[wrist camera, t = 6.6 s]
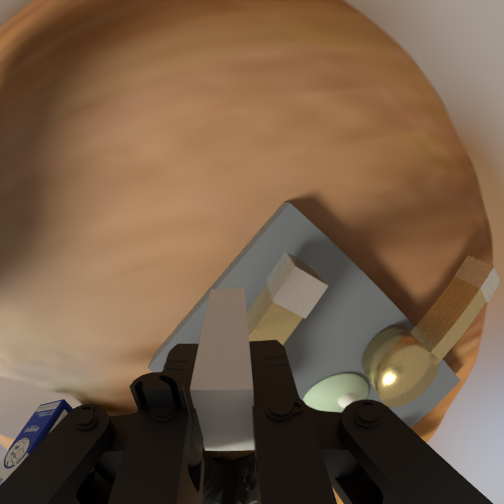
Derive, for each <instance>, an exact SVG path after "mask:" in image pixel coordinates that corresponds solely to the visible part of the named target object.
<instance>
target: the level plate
mask: <svg viewBox="0 0 504 504" xmlns="http://www.w3.org/2000/svg"><path fill="white" fill-rule="evenodd" d="M285 251H286V252H288V253H290V254H291V255H293V256H295V257H296V258H298V259H300V260H301V261H303V262H305V263H306V264H308V265H310V266H311V267H313V268H314V269H315V270H316V272H317V273H318V274H319V275H320V276H321V278H322V279H323V280H324V281H325V282H326V284H327V285H328V287H327V289H326V290H325V292H324V293H323V295H322V296H321V298H320V299H319V300H318V302H317V303H316V305H315V306H314V308H313V309H312V310H311V312H310V313H309V315H308V316H307V317H306V319H305V318H302V320H301V321H300V323H299V324H298V325H297V327H296V328H295V329H294V331H293V332H292V333H291V335H290V336H289V337H288V339H287V340H286V341H285V343H284V344H283V346H284V347H285V350H286V353H287V358H288V360H289V364H290V367H291V371H292V374H293V378H294V381H295V384H296V388H297V391H298V395H299V397H300V399H301V400H303V401H304V402H305V404H306V405H308V406H309V407H311V408H314V409H317V410H321V411H329V412H342V411H343V410H344V408H345V407H346V406H347V405H349V404H350V403H352V402H354V401H358V400H362V399H368V400H375V401H379V402H381V403H383V402H382V400H381V399H380V397H379V395H378V394H377V392H376V390H375V389H374V387H373V385H372V384H371V382H370V380H369V379H368V377H367V375H366V374H365V372H364V370H363V368H362V363H361V362H362V356H363V353H364V351H365V349H366V347H367V346H368V344H369V343H370V342H371V341H372V340H373V338H375V337H376V336H377V335H378V334H379V333H381V332H382V331H384V330H386V329H388V328H391V327H395V326H403V327H406V328H408V329H409V330H410V331H412V330H413V329H414V327H415V326H414V325H413V324H412V323H411V322H410V321H409V320H408V318H407V317H406V316H405V315H404V314H403V313H402V312H401V311H400V310H399V309H398V308H397V306H396V305H395V304H394V303H393V302H392V301H391V300H390V299H389V298H388V297H387V296H386V295H385V294H384V293H383V292H382V291H381V290H380V289H379V288H378V286H377V285H376V284H375V283H374V282H373V281H372V280H371V279H370V278H369V277H368V276H367V275H366V274H365V273H364V272H363V271H362V270H361V269H360V268H359V267H358V266H357V265H356V264H355V263H354V262H353V261H352V260H351V259H350V258H349V257H348V256H347V255H346V254H345V253H344V252H342V251H341V250H340V249H339V248H338V247H337V246H336V245H335V244H334V243H333V242H332V241H331V240H330V239H329V238H328V237H327V236H326V235H325V234H324V233H323V232H321V231H320V230H319V229H318V228H317V227H316V226H315V225H314V224H313V223H312V222H311V221H310V220H308V219H307V218H306V217H305V216H304V215H303V214H302V213H301V212H300V211H299V210H297V209H296V208H295V207H294V206H293V205H292V204H291V203H289V202H286V201H285V202H284V203H283V204H282V205H281V206H280V207H279V209H278V210H277V211H276V212H275V213H274V214H273V216H272V217H271V218H270V219H269V220H268V221H267V222H266V224H265V225H264V226H263V227H262V228H261V229H260V231H259V232H258V233H257V234H256V235H255V236H254V238H253V239H252V240H251V241H250V242H249V243H248V244H247V246H246V247H245V248H244V249H243V250H242V251H241V253H240V254H239V255H238V256H237V257H236V258H235V260H234V261H233V262H232V263H231V264H230V265H229V267H228V268H227V269H226V270H225V271H224V272H223V274H222V275H221V276H220V277H219V278H218V279H217V281H216V282H215V283H214V284H213V285H212V286H211V288H210V289H209V290H208V291H207V292H206V294H205V295H204V296H203V297H202V298H201V299H200V301H199V302H198V303H197V304H196V305H195V306H194V308H193V309H192V310H191V311H190V312H189V314H188V315H187V316H186V317H185V318H184V319H183V321H182V322H181V323H180V324H179V325H178V326H177V328H176V329H175V330H174V331H173V332H172V334H171V335H170V336H169V337H168V338H167V340H166V341H165V342H164V343H163V344H162V345H161V347H160V348H159V349H158V350H157V351H156V353H155V354H154V356H153V358H152V360H151V362H150V364H149V366H148V368H149V369H150V370H151V371H153V372H162V370H163V367H164V364H165V362H166V359H167V356H168V353H169V351H170V350H171V349H172V348H173V347H174V346H175V345H177V344H178V343H179V344H199V342H200V337H201V332H202V328H203V323H204V319H205V314H206V310H207V305H208V301H209V296H210V292H211V289H237V288H245V299H246V311H247V312H248V310H249V309H250V307H251V306H252V304H253V303H254V301H255V300H256V298H257V297H258V295H259V294H260V292H261V290H262V289H263V287H264V286H265V284H266V283H267V278H268V277H269V275H270V274H271V272H272V270H273V269H274V267H275V266H276V264H277V263H278V261H279V259H280V258H281V256H282V255H283V253H284V252H285ZM459 381H460V379H459V378H458V377H457V376H456V374H455V373H454V372H453V371H452V369H451V368H450V367H449V366H448V365H447V363H446V362H445V361H444V360H443V359H442V360H441V361H440V362H439V369H438V373H437V375H436V377H435V379H434V381H433V382H432V384H431V385H430V387H429V388H428V389H427V390H426V391H425V392H424V393H423V394H422V395H421V396H419V397H418V398H417V399H415V400H414V401H412V402H410V403H408V404H406V405H403V406H400V407H389V408H390V409H391V410H392V411H393V412H394V413H395V414H396V415H397V416H398V417H399V418H400V419H401V420H402V421H403V422H404V423H405V424H407V425H408V426H409V427H410V428H412V427H413V426H414V425H415V424H416V423H418V422H419V421H420V420H421V419H422V418H423V417H424V416H425V415H427V414H428V413H429V412H430V411H431V410H432V409H433V408H434V407H435V406H436V405H437V404H438V403H439V402H440V401H441V400H442V399H443V398H444V397H445V396H446V395H447V394H448V393H449V392H450V391H451V390H452V389H453V388H454V387H455V386H456V385H457V384H458V383H459ZM383 404H384V403H383ZM384 405H385V404H384ZM387 407H388V406H387Z"/></svg>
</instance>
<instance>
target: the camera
mask: <svg viewBox="0 0 504 504" xmlns="http://www.w3.org/2000/svg"><path fill="white" fill-rule="evenodd" d="M202 457H203V460H204V465H205V466H204V481H203V497H202V504H259V501H258V490H257V478H256V466H255V453H252V454H250V455H248V456H246V457H243V458H241V459H238V460H233V461H232V460H228V459H226V458H214V459H211V458H209V457H207V456H205V455H204V454H202Z"/></svg>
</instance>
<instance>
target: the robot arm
mask: <svg viewBox="0 0 504 504" xmlns="http://www.w3.org/2000/svg"><path fill="white" fill-rule="evenodd" d="M130 389H131V392H132V395H133V397H134V400H135V402H136V405H137V407H138V412H136V413H133V414H129V415H120V416H108V414H107V412H106V410H104V409H103V408H101V407H100V406H97V405H93V404H87V405H81V406H78V407H76V408H74V409H73V410H71V411H70V412H69V413H68V414H67V415H66V416H65V417H64V418H63V419H62V420H61V421H60V422H59V423H58V424H57V425H56V426H55V427H54V429H53V430H52V431H51V432H50V433H49V434H48V435H47V436H46V437H45V438H44V439H43V440H42V441H41V442H40V443H39V444H38V445H37V446H36V447H35V449H34V450H33V451H32V452H31V453H30V454H29V455H28V456H27V457H26V458H25V459H24V460H23V461H22V462H21V464H20V465H19V466H18V467H17V468H16V469H15V470H14V471H13V472H12V473H11V474H10V476H9V477H8V478H7V479H6V480H5V481H4V482H3V483H2V484H1V485H0V504H202V497H203V481H204V466H205V465H204V460H203V457H202V450H203V445H204V448H205V451H243V450H255V466H256V478H257V490H258V501H259V504H337V502H336V498H335V495H334V492H333V488H334V490H335V491H336V493H337V494H338V496H339V497H340V499H341V500H342V501H343V503H344V504H493V503H492V502H491V501H490V500H489V499H487V498H486V497H485V496H484V495H483V494H482V493H481V492H479V491H478V490H477V489H476V488H475V487H474V486H473V485H472V484H471V483H469V482H468V481H467V480H466V479H465V478H464V477H463V476H462V475H460V474H459V473H458V472H457V471H456V470H455V469H454V468H453V467H452V466H451V465H450V464H448V463H447V462H446V461H445V460H444V459H443V458H442V457H441V456H439V454H437V453H436V452H435V451H434V450H433V449H432V448H431V447H430V446H429V445H428V444H427V443H426V442H425V441H424V440H423V439H421V438H420V437H419V436H418V435H417V434H416V433H415V432H414V431H413V430H412V429H411V428H410V427H409V426H408V425H407V424H405V423H404V422H403V421H402V420H401V419H400V418H399V417H398V416H397V415H396V414H395V413H394V412H393V411H392V410H391V409H390V408H389V407H387V406H386V405H384V404H383V403H381V402H379V401H375V400H368V399H362V400H358V401H354V402H352V403H350V404H349V405H347V406H346V407H345V408H344V410H343V411H342V412H329V411H321V410H317V409H314V408H311V407H309V406H308V405H306V404H305V402H304V401H303V400H301V399H300V397H299V395H298V391H297V388H296V384H295V381H294V378H293V374H292V371H291V367H290V364H289V360H288V358H287V353H286V350H285V347H284V346H283V345H282V344H281V343H280V342H279V341H277V340H264V341H249V335H248V323H247V311H246V299H245V288H237V289H211V292H210V296H209V301H208V305H207V310H206V314H205V319H204V323H203V328H202V332H201V337H200V342H199V344H179V343H178V344H177V345H175V346H174V347H173V348H172V349H171V350H170V351H169V353H168V356H167V359H166V362H165V364H164V367H163V370H162V372H153V373H148V374H145V375H142V376H140V377H139V378H137V379H136V380H134V381H133V383H132V384H131V385H130ZM332 487H333V488H332Z"/></svg>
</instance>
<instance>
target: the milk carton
mask: <svg viewBox="0 0 504 504" xmlns="http://www.w3.org/2000/svg"><path fill="white" fill-rule="evenodd" d="M71 410H73V409H72V407H70V405H69V404H68V403H67V402H66V401H65V400H59V401H55V402H51V403H47V404H42V405H40V406H39V408H38V409H37V410H36V411H35V413H34V414H33V416H32V417H31V418H30V420H29V421H28V422H27V424H26V425H25V427H24V428H23V429H22V431H21V432H20V434H19V435H18V436H17V438H16V439H15V441H14V442H13V444H12V445H11V447H10V448H9V450H8V451H7V453H6V454H5V456H4V457H3V459H2V460H1V462H0V485H1V484H2V483H3V482H4V481H5V480H6V479H7V478H8V477H9V476H10V474H11V473H12V472H13V471H14V470H15V469H16V468H17V467H18V466H19V465H20V464H21V462H22V461H23V460H24V459H25V458H26V457H27V456H28V455H29V454H30V453H31V452H32V451H33V450H34V449H35V447H36V446H37V445H38V444H39V443H40V442H41V441H42V440H43V439H44V438H45V437H46V436H47V435H48V434H49V433H50V432H51V431H52V430H53V429H54V427H55V426H56V425H57V424H58V423H59V422H60V421H61V420H62V419H63V418H64V417H65V416H66V415H67V414H68V413H69V412H70V411H71Z"/></svg>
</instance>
